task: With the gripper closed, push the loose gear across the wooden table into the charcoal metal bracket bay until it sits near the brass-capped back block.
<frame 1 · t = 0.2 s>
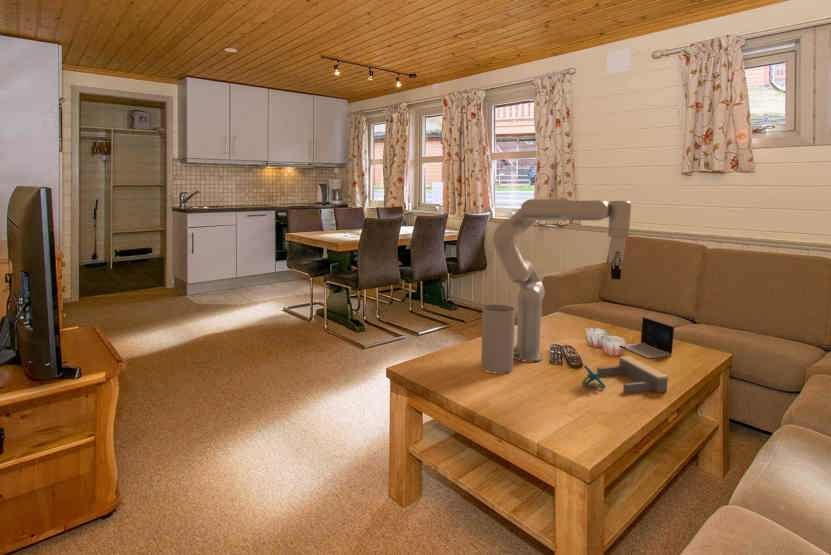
hand: (615, 277, 198), 37 cm above the table, tool pointing down, fingers open, 9 cm apart
gear bay: (623, 382, 189), on the table
cylinder vase: (497, 369, 203), on the table
laptop: (644, 351, 225), on the table
gear: (593, 386, 187), on the table
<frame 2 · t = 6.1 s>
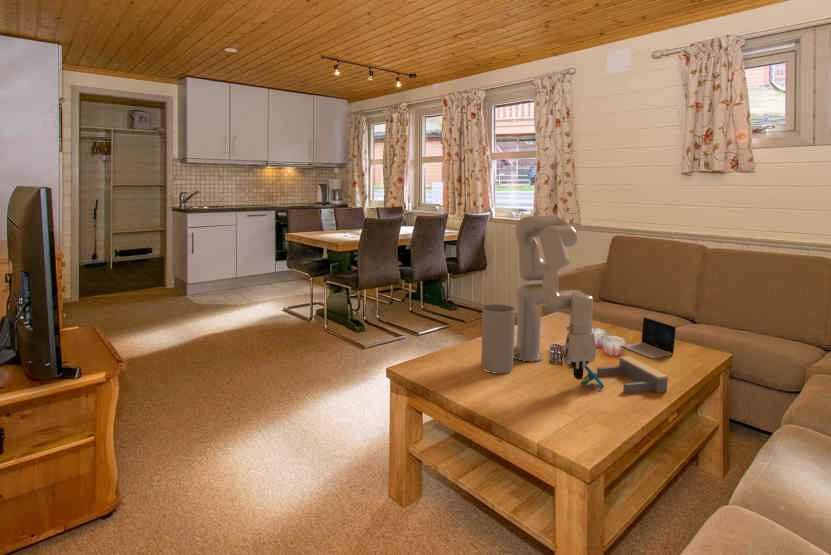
hand: (578, 378, 184), 4 cm above the table, tool pointing down, fingers closed
gear: (592, 385, 187), on the table, touching gripper
everything else where it was.
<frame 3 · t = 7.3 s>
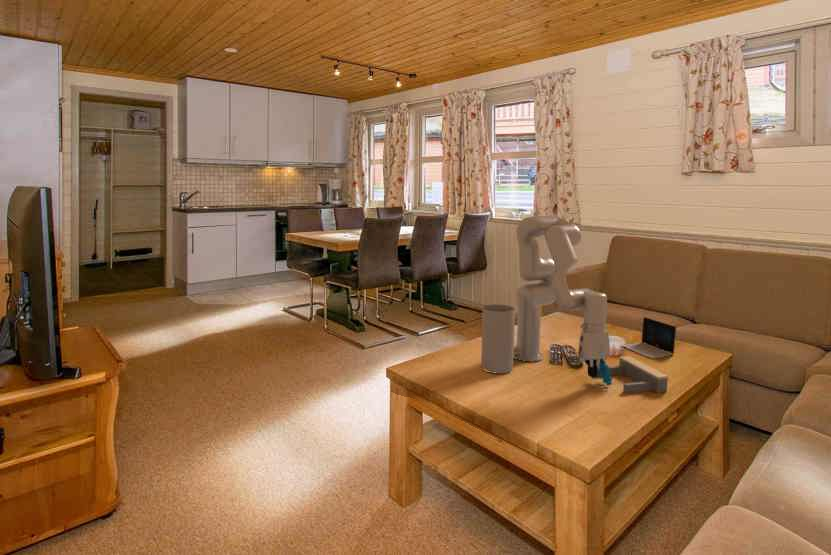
hand: (592, 376, 185), 4 cm above the table, tool pointing down, fingers closed
gear: (597, 381, 186), point 2 cm above the table, touching gripper
everything else where it was.
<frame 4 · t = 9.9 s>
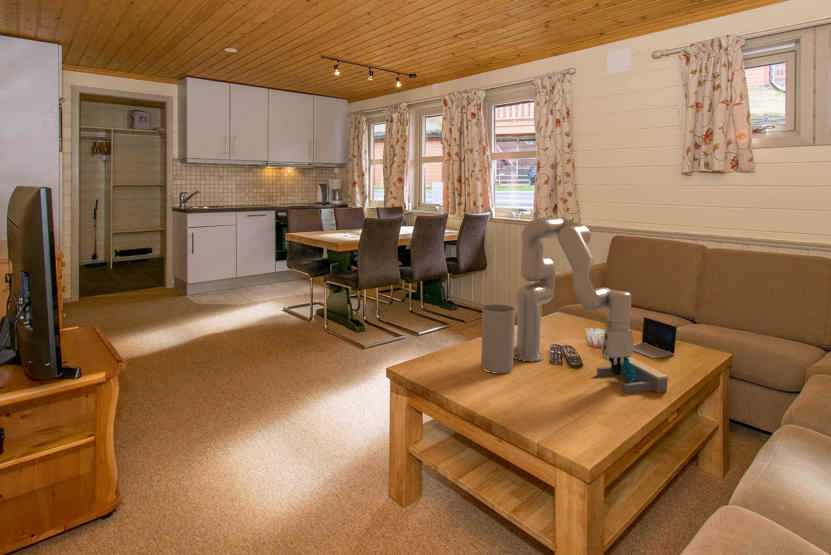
hand: (615, 373, 187), 4 cm above the table, tool pointing down, fingers closed
gear: (620, 378, 189), point 2 cm above the table, touching gripper
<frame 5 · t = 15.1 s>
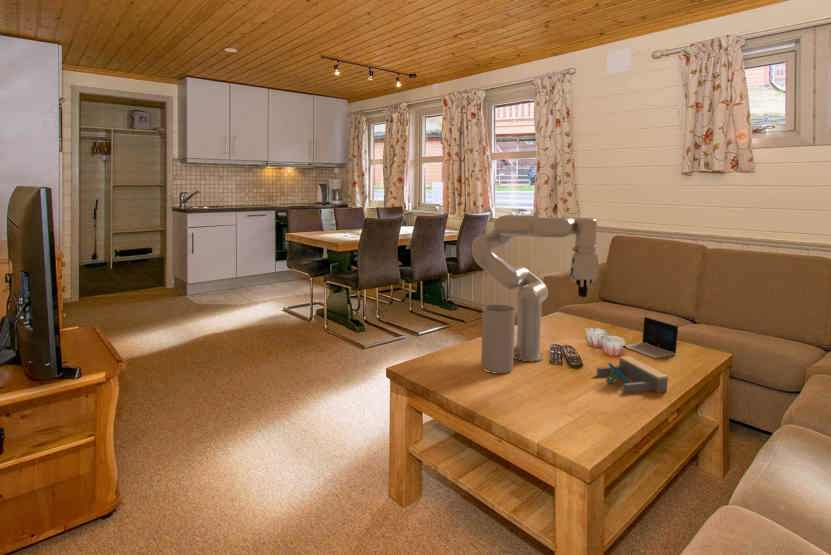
hand: (582, 296, 201), 29 cm above the table, tool pointing down, fingers closed
gear: (617, 383, 189), on the table
at the end: gear inside the target area on the gear bay (2.2 cm from its centre), point 0.0 cm above the gear bay's base; gear moved 10.3 cm from its start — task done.
